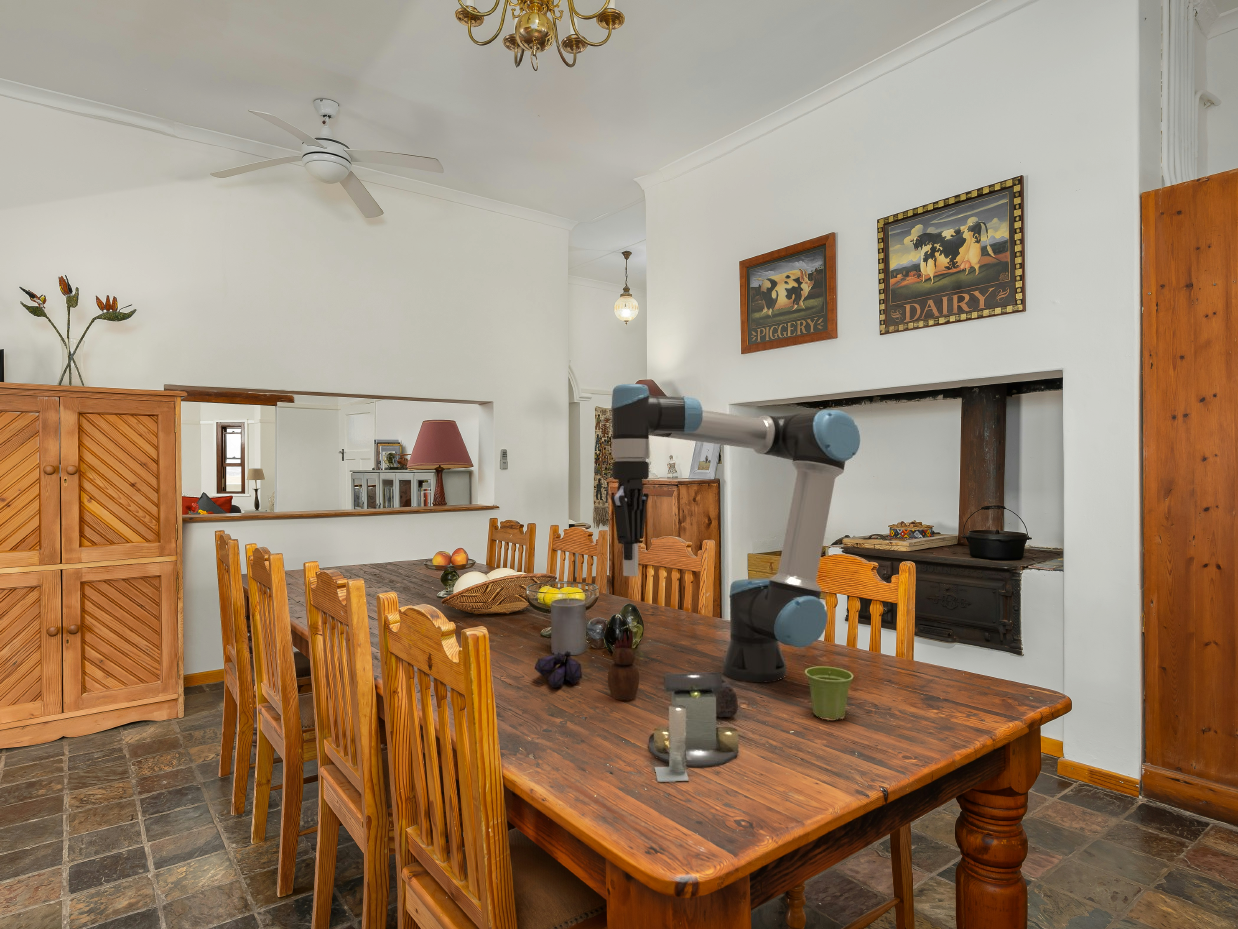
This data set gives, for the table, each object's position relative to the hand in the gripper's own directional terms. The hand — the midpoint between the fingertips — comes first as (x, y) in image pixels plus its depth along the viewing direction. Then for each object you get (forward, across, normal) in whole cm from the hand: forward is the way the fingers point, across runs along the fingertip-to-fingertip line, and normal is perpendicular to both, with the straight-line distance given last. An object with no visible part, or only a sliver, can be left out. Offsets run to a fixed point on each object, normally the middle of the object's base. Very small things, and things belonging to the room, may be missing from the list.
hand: (630, 575), depth 138 cm
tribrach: (+28, +10, +17) cm, 35 cm away
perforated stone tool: (+29, -11, +15) cm, 34 cm away
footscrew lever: (+28, +18, +16) cm, 36 cm away
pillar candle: (+29, -35, -37) cm, 58 cm away
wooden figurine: (+29, -8, -6) cm, 30 cm away
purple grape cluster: (+29, -13, -26) cm, 41 cm away
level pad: (+28, +22, +18) cm, 40 cm away
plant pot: (+29, -17, +36) cm, 49 cm away
